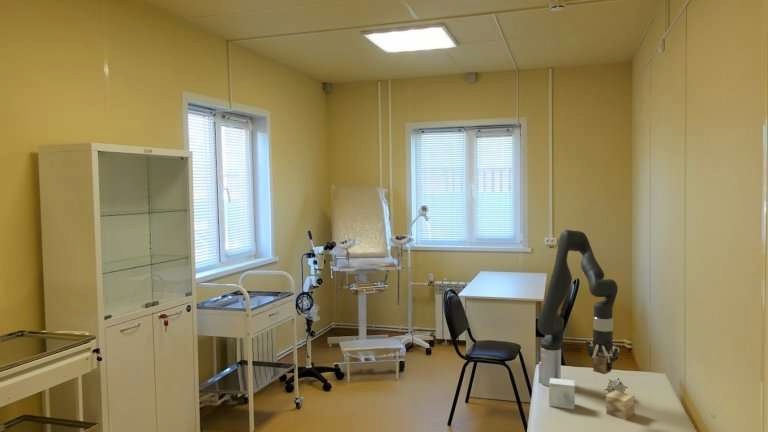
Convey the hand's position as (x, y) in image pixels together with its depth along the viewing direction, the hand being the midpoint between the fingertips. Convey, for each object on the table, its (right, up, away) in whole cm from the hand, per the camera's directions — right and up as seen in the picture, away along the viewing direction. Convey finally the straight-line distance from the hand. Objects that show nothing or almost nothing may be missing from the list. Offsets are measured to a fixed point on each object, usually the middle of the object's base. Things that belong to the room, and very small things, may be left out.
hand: (602, 368), depth 226 cm
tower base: (+8, -20, +2) cm, 21 cm away
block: (0, -1, 0) cm, 1 cm away
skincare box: (-13, -19, +12) cm, 26 cm away
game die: (+14, -18, +20) cm, 30 cm away
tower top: (+8, -16, +2) cm, 18 cm away
